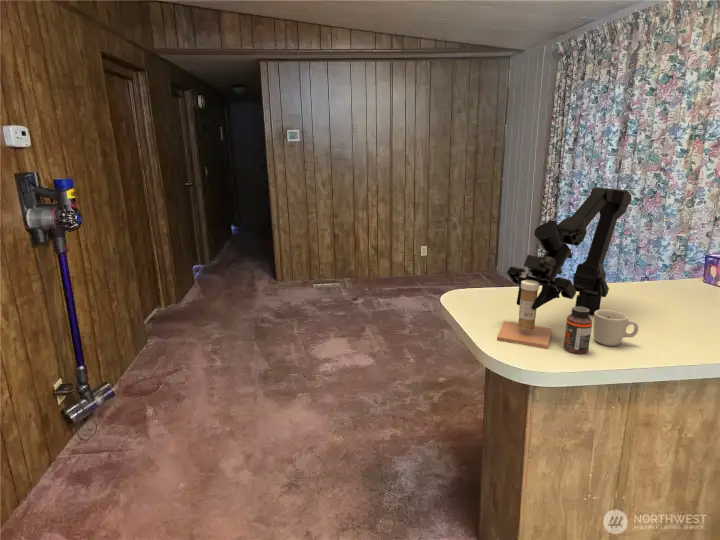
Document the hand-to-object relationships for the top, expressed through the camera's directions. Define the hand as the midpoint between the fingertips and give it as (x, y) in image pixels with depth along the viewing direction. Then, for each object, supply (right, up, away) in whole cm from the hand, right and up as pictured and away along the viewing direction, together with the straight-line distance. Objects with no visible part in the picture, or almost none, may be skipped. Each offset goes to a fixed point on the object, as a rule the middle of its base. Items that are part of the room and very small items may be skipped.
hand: (525, 306), depth 129 cm
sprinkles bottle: (+1, -6, +3) cm, 7 cm away
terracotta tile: (+1, -8, +3) cm, 9 cm away
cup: (+23, -10, -1) cm, 25 cm away
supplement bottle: (+11, -11, -6) cm, 17 cm away
